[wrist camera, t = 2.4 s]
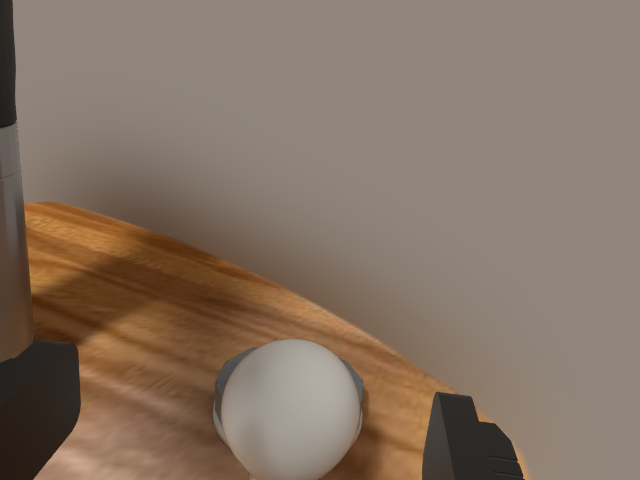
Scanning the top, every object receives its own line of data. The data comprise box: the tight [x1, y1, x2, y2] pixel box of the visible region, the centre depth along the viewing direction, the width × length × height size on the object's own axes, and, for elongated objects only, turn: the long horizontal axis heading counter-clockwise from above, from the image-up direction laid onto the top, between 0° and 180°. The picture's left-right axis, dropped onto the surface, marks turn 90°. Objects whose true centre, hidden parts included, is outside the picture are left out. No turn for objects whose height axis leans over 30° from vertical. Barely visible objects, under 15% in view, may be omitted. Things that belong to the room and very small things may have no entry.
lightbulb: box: [221, 339, 360, 480], centre depth 27 cm, size 6×6×11 cm
